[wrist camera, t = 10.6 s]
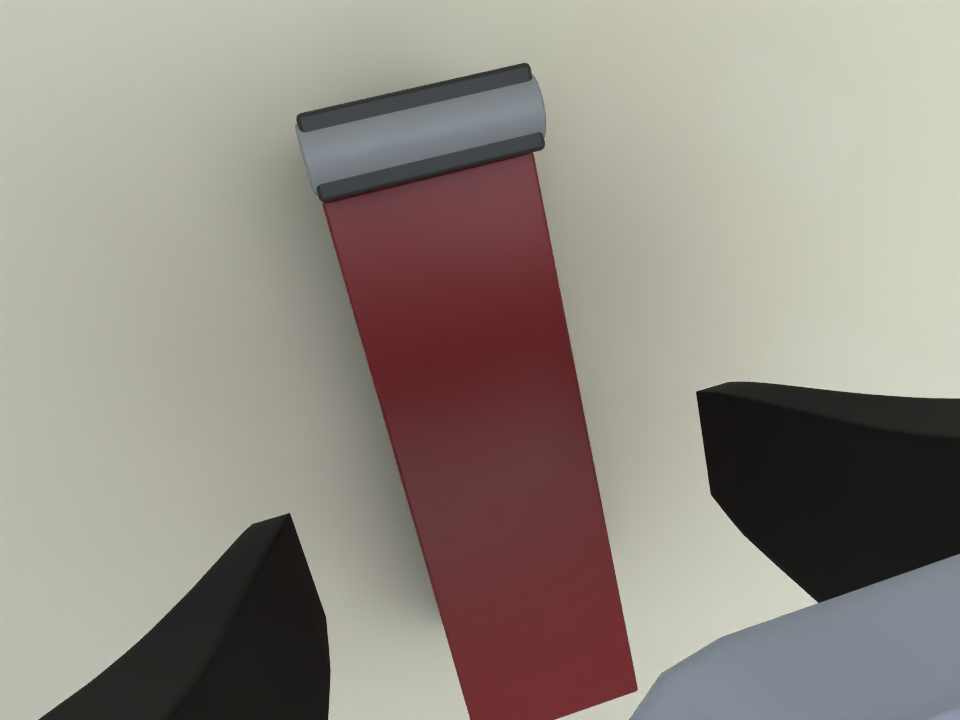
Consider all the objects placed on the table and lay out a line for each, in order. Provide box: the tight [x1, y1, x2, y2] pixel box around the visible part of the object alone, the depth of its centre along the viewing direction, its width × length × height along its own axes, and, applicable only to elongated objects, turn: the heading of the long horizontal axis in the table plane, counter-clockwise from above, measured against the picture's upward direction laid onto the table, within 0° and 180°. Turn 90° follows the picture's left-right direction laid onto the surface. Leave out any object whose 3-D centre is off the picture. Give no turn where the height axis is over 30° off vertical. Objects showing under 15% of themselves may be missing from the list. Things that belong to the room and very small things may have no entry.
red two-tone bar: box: [295, 63, 638, 720], centre depth 15 cm, size 13×4×6 cm, turn 13°
